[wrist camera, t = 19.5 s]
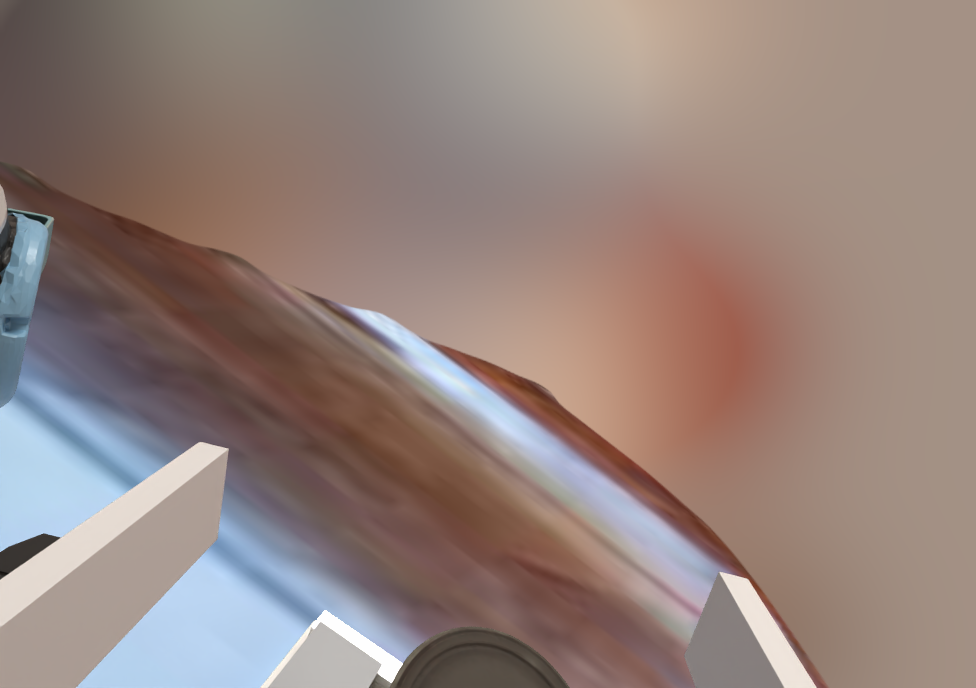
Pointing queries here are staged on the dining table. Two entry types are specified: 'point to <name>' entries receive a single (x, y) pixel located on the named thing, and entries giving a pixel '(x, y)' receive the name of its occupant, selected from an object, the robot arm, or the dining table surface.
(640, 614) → the dining table surface
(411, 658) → the coffee can
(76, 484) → the dining table surface
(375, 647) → the metal rail
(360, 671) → the block
